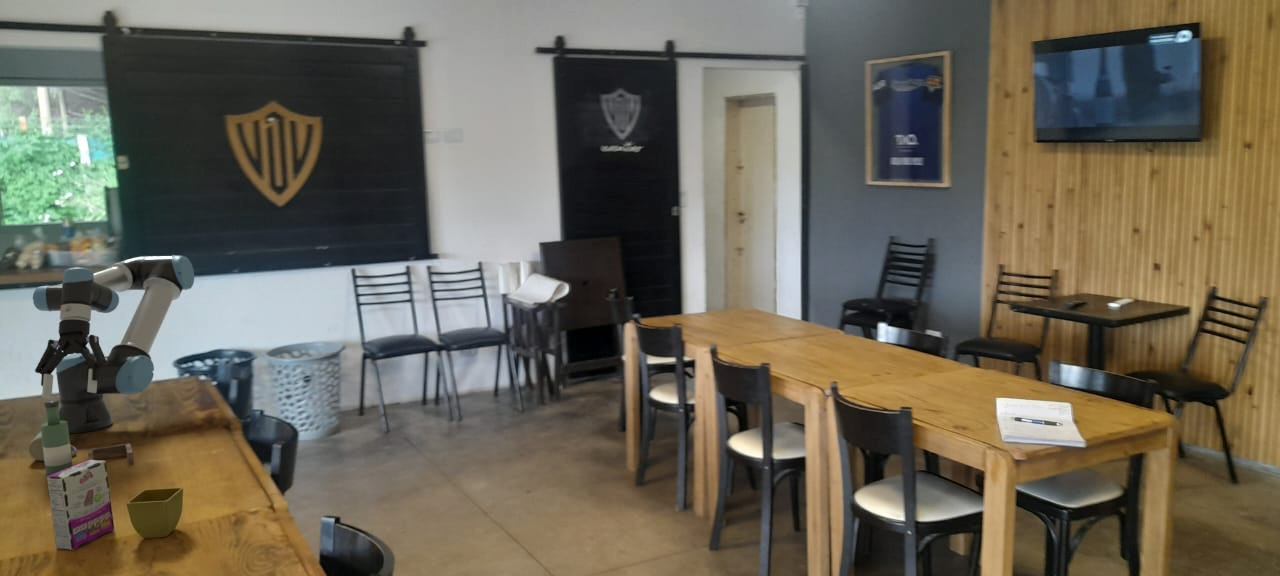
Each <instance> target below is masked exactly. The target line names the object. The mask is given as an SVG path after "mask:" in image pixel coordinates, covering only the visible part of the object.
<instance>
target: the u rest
mask: <svg viewBox="0 0 1280 576" xmlns="http://www.w3.org/2000/svg"><path fill="white" fill-rule="evenodd" d="M123 456H126V458H127V463H128V465H131V464H134V458H133V457H134V456H133V449H132V445H131V443H130V442H127V443H122V444H115V445H108V446H102V447H98V448H97V447H96V448H91V449H87V460H105V459H106V460H107V459H113V458H116V457H123Z"/></svg>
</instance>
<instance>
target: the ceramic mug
mask: <svg viewBox="0 0 1280 576" xmlns="http://www.w3.org/2000/svg"><path fill="white" fill-rule="evenodd" d="M70 447H71V456H72V457H74V456H75V455H76V453H77V448H76V447H75V446H74V445H72V444H70ZM28 452H29V455H30V456H31V457H32V458H33V459H34V460H35V461H40V462H45V461H44V453H43V443H42V435H41V431H40V432H39V433H38V434H37V435H36V436H35V437H34V438H33V439H32V440H31V442H30V444H29V446H28Z"/></svg>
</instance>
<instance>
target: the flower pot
mask: <svg viewBox="0 0 1280 576" xmlns="http://www.w3.org/2000/svg"><path fill="white" fill-rule="evenodd" d="M183 499H184V487H165V488H149V489H142V490H141V491H139V492H138V493H137V494H136V495H135V496H134V497H132V498H130V499H129V500H128V501H127V502H126V507H127V512H128V515H129V519H130V522H131V525H132V527H133V529H134V530H135V531H136V533H137V534H138V535H139V536H140V537H141V538H143V539H149V538H150V539H151V538H153V539H154V538H166V537H168V535H170V534H171V533H172V532H173V531H174V530H175V529H176V527H177V525H178V524H179V522H180V519H181V516H182V512H183V503H184V501H183Z"/></svg>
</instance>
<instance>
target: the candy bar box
mask: <svg viewBox="0 0 1280 576" xmlns="http://www.w3.org/2000/svg"><path fill="white" fill-rule="evenodd" d="M106 462H107V461H106V460H103V459H100V460H88V459H87V460H86V461H85V460H84V461H83V462H80V463H77V464H75V465H72V467H69V468H67V469H65V470H62V471H60V472H57V473H55V474H52V475H50V476H46V483H47V490H48V498H49V502H50V511H51V519H52V522H53V523H52V524H53V532H54V540H55V546H56V549H58V550H68V551H75V550H77V549H79V548H81V547H83V546H85V545H87V544H89V543H91V542H93V541H96V540H97V539H99V538H102V537H103V536H105V535H107V534H110V533H111V532H113V531H115V525H114V516H113V515H114V514H113V509H112V501H111V494H110V486H109V478H108V471H107V463H106Z"/></svg>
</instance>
